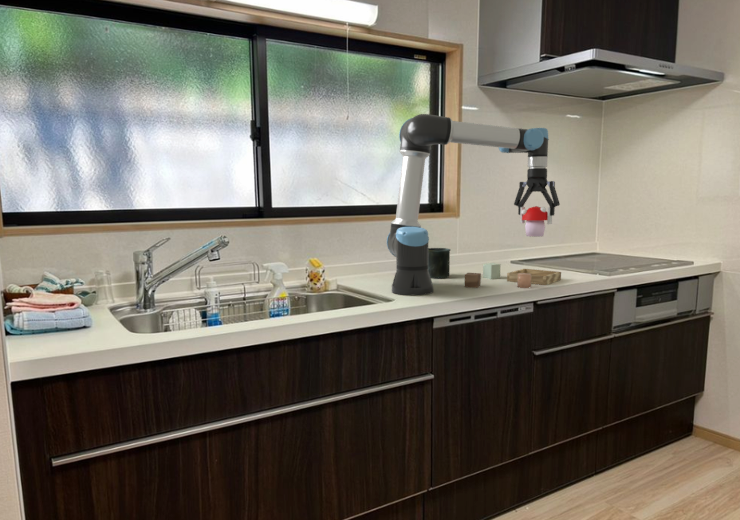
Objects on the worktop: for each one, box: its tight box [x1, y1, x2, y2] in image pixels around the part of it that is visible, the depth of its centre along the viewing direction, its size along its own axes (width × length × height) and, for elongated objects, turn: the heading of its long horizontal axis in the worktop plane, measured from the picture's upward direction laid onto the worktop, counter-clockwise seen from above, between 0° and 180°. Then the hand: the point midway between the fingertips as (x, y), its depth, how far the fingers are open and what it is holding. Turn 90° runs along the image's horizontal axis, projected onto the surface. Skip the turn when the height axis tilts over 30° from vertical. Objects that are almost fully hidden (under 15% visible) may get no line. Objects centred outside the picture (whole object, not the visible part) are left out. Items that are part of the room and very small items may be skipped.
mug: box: [428, 247, 451, 279], centre depth 233 cm, size 11×15×12 cm
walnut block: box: [464, 272, 482, 289], centre depth 209 cm, size 5×5×5 cm
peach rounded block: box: [516, 273, 532, 289], centre depth 207 cm, size 5×5×5 cm
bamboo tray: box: [506, 268, 562, 286], centre depth 221 cm, size 16×16×3 cm
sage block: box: [482, 262, 501, 280], centre depth 229 cm, size 5×5×6 cm
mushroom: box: [522, 205, 548, 238], centre depth 218 cm, size 11×11×12 cm
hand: (535, 223), depth 218 cm, fingers closed on mushroom, 11 cm apart
